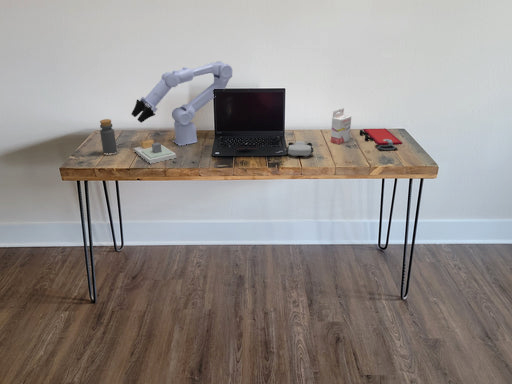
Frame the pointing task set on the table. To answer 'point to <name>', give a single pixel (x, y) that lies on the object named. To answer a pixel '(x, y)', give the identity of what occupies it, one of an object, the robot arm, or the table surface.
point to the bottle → (107, 137)
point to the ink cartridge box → (340, 127)
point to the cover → (157, 151)
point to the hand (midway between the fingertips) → (136, 118)
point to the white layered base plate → (153, 160)
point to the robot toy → (299, 148)
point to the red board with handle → (381, 138)
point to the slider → (147, 143)
